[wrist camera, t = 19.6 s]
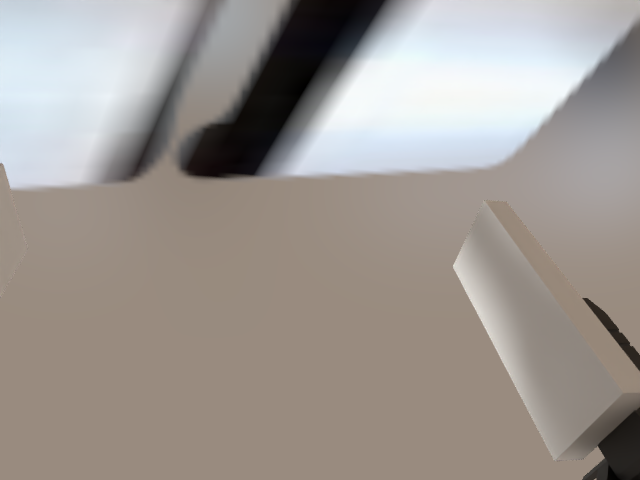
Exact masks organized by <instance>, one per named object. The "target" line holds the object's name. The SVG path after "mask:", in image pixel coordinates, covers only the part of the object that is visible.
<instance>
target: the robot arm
mask: <svg viewBox="0 0 640 480" xmlns="http://www.w3.org/2000/svg"><path fill="white" fill-rule="evenodd" d="M27 250H28V247H27V244H26V240H25V237H24V233H23V230H22V227H21V223H20V220H19V216H18V213H17V210H16V206H15V203H14V200H13V196H12V193H11V189H10V186H9V183H8V179H7V176H6V172H5V169H4V166H3V164H1V163H0V298H1V296H2V294H3V292H4V291H5V289H6V287H7V285H8V284H9V282H10V280H11V278H12V277H13V275H14V273H15V271H16V269H17V268H18V266H19V264H20V262H21V261H22V259H23V257H24V255H25V254H26V252H27ZM453 268H454V270H455V271H456V273H457V276H458V277H459V279H460V281H461V283H462V285H463V287H464V289H465V291H466V293H467V295H468V296H469V298H470V300H471V302H472V304H473V306H474V308H475V310H476V312H477V313H478V316H479V318H480V319H481V321H482V323H483V325H484V327H485V329H486V331H487V333H488V335H489V337H490V339H491V341H492V342H493V344H494V346H495V348H496V350H497V352H498V354H499V356H500V358H501V360H502V361H503V364H504V365H505V367H506V369H507V371H508V373H509V375H510V377H511V379H512V381H513V383H514V384H515V386H516V388H517V390H518V392H519V394H520V396H521V398H522V400H523V402H524V404H525V406H526V407H527V409H528V411H529V413H530V415H531V417H532V419H533V421H534V423H535V425H536V427H537V428H538V430H539V432H540V434H541V436H542V438H543V440H544V442H545V444H546V446H547V448H548V450H549V452H550V453H551V455H552V457H553V459H554V461H564V460H580V459H581V460H582V459H584V458H585V457H586V456H587V455H588V454H589V453H590V452H592V451H593V450H594V448H596V447H597V446H598V447H599V449H600V450H601V452H602V454H603V455H604V457H605V459H603V460H602V461H601V462H600V463H599V464H598V465H597V466H596V467H594V468H593V469H592V470H591V471H590V472H589V473H587V474H586V475H585V476H584V477H583V479H582V480H594V479H595V478H597V480H640V355H639V353H638V352H637V351H636V350H635V348H634V347H633V346H630V342H629V341H628V340H627V339H626V337H625V336H624V335H623V334H622V333H619V329H618V327H617V326H616V325H615V324H614V323H613V321H611V319H610V318H609V316H608V315H607V314H606V313H605V312H604V311H603V310H601V309H600V308H599V307H598V306H596V305H595V304H594V303H593V302H591V301H590V300H589V299H588V298H582V297H581V296H580V295H579V294H578V292H577V291H576V290H575V288H574V287H573V286H572V285H571V284H570V282H569V281H568V279H567V278H566V277H565V276H564V274H563V273H562V272H561V271H560V269H559V268H558V267H557V266H556V264H555V263H554V262H553V261H552V259H551V258H550V257H549V255H548V254H547V253H546V251H545V250H544V249H543V248H542V247H541V245H540V244H539V243H538V241H537V240H536V239H535V238H534V236H533V235H532V234H531V232H530V231H529V230H528V229H527V227H526V226H525V225H524V224H523V222H522V221H521V220H520V218H519V217H518V216H517V215H516V213H515V212H514V211H513V210H512V208H511V207H510V206H509V204H508V203H507V202H503V201H490V200H484V201H483V203H482V206H481V208H480V210H479V212H478V214H477V216H476V218H475V221H474V223H473V225H472V227H471V229H470V231H469V233H468V236H467V238H466V240H465V242H464V244H463V246H462V248H461V251H460V253H459V255H458V257H457V259H456V261H455V263H454V265H453Z"/></svg>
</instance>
